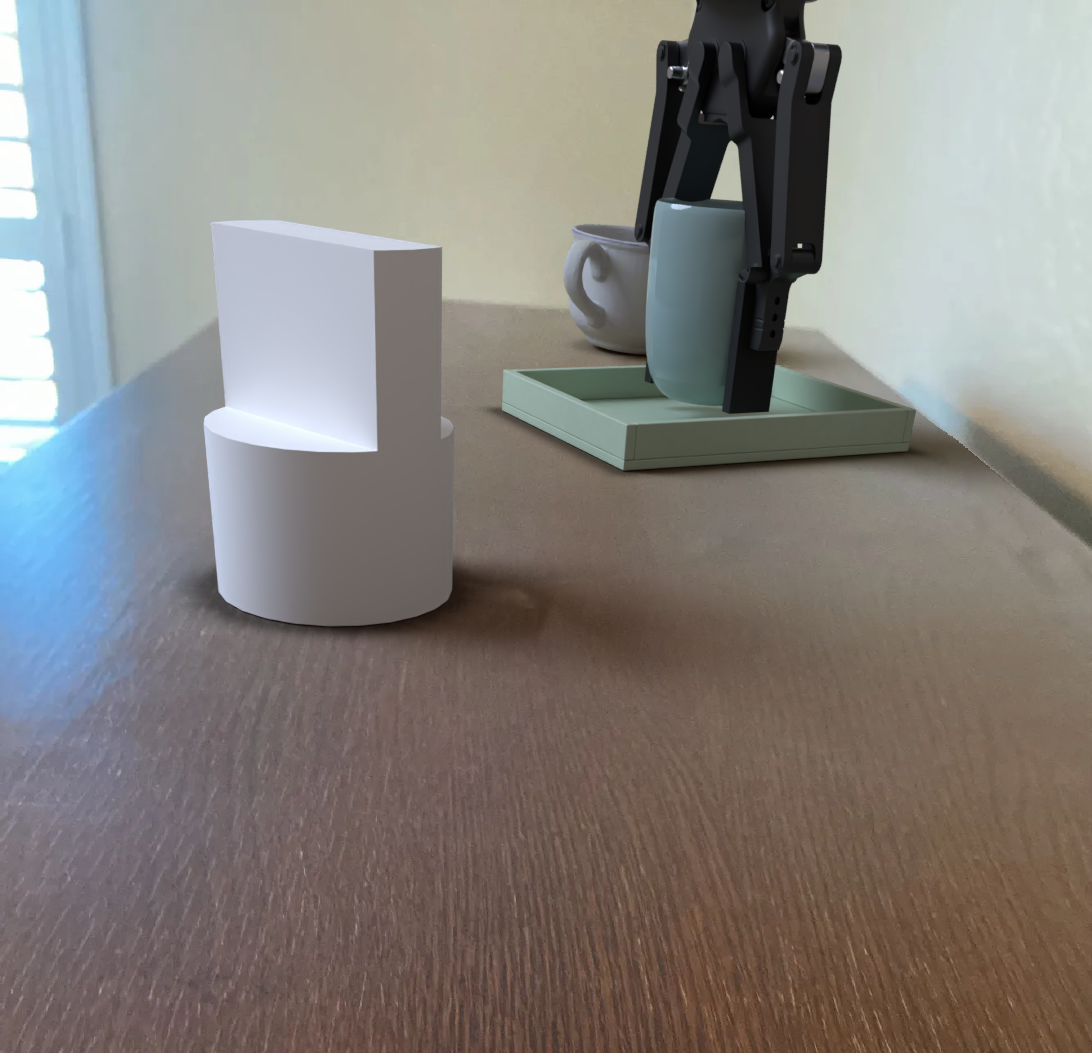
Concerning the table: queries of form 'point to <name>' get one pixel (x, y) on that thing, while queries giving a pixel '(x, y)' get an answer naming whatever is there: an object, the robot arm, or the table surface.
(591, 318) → the teacup
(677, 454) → the tray
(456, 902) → the table surface
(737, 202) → the cup
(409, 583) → the cylinder with rectangular tab
